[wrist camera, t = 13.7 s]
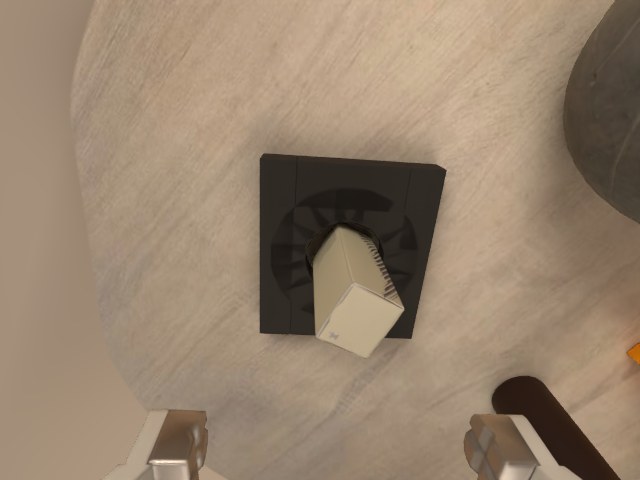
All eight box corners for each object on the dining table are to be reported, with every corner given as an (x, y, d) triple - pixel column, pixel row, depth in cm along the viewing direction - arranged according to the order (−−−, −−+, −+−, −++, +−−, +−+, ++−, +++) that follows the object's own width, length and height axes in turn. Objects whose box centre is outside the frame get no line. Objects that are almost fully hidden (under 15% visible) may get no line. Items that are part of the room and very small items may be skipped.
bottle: (479, 396, 44) (602, 616, 26) (525, 365, 42) (692, 577, 24) (510, 421, 46) (644, 643, 28) (554, 393, 44) (730, 609, 26)
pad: (262, 319, 38) (259, 333, 36) (263, 153, 31) (259, 158, 29) (405, 324, 39) (411, 339, 37) (437, 164, 32) (447, 169, 30)
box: (347, 276, 37) (365, 365, 25) (310, 258, 36) (311, 341, 24) (374, 236, 35) (408, 310, 23) (337, 215, 34) (352, 282, 22)
